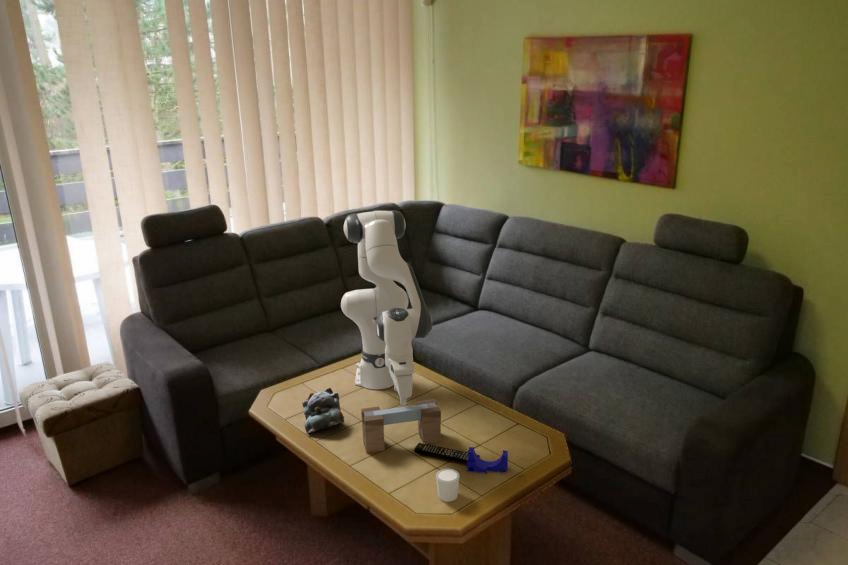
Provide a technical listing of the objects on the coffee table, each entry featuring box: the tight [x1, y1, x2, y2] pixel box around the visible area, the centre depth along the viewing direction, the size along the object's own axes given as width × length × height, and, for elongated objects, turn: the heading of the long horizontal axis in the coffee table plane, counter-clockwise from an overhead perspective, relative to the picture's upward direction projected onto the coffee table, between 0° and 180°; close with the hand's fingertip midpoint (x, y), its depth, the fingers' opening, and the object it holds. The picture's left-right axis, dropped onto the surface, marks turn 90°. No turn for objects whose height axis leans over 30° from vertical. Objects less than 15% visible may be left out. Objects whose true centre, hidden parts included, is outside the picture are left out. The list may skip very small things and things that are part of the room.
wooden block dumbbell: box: [360, 398, 442, 454], centre depth 215 cm, size 8×25×12 cm, turn 103°
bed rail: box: [364, 403, 438, 426], centre depth 214 cm, size 3×24×4 cm, turn 104°
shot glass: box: [435, 468, 460, 503], centre depth 188 cm, size 7×7×7 cm
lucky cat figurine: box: [301, 387, 345, 434], centre depth 227 cm, size 15×12×14 cm
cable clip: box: [466, 446, 509, 474], centre depth 200 cm, size 12×4×6 cm, turn 77°
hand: (400, 397), depth 212 cm, fingers open, 8 cm apart
